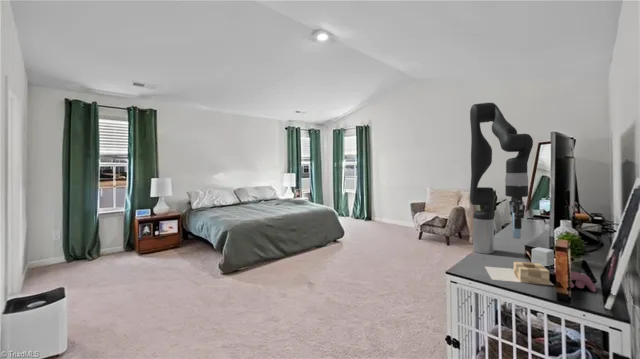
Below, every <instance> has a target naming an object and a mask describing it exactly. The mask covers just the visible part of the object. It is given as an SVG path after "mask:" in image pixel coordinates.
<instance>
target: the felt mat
mask: <svg viewBox="0 0 640 359" xmlns="http://www.w3.org/2000/svg"><path fill="white" fill-rule="evenodd" d="M484 268H485V269H486V272H487V274H488V275H489V277H490V279H491V280H492V281H493V280H494V281H504V282H512V283H513V282H514V283H521V282H520V281H519V280H518V278H517V277H516V276H515V275H514V268H509V267H496V266H495V267H494V266H484ZM523 283H525V282H523ZM533 284H535V285H536V283H533ZM546 285H547V284H544V286H546ZM547 286H554V283H552V281H550V280H549V285H547Z"/></svg>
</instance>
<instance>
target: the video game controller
mask: <svg viewBox="0 0 640 359" xmlns="http://www.w3.org/2000/svg"><path fill="white" fill-rule="evenodd" d="M570 272H571V280H570V281H571V288H570V289H572V288H574V287H576V288H578V289H584V288H585V286H586V287H587V288H588V289H589V290H590V291H591V292H594V293H596V292H597V289H596V285H595V284H594V282H593V281H592V279H591V277H589V276H588V275H587V274H586V273H582V272H578V271H570ZM573 281H575V284H574V283H573Z"/></svg>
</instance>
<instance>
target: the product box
mask: <svg viewBox="0 0 640 359" xmlns="http://www.w3.org/2000/svg"><path fill="white" fill-rule="evenodd" d="M554 258H555V252H554V250H553V249H550V248H545V247H540V246H537V247H535V248H532V249H531V262H530V263H540V264H541V265H542V266H550V265H553V264H554V265H555V263H554V262H555V259H554Z"/></svg>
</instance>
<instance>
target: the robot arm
mask: <svg viewBox="0 0 640 359" xmlns="http://www.w3.org/2000/svg"><path fill="white" fill-rule="evenodd" d="M469 121H470V132H471V133H470V136H471V138H470V139H471V141H470V142H471V144H470V148H471V149H470V166H471V167H470V170H471V171H470V175H471V176H470V188H469V189H470V190H469V201H470V203H471V205H473V206H485V207H484V208H483V209H480V210H476V211H474V212H473V214H472V215H473V220H472V222H473V223H472V226H473V227H472V228H473V230H472V233H473V239H472V240H473V244H472V245H473V249H472V250H473V251H474V252H476V253H479V254H488V255H490V254H494V253H495V251H494V250H495V247H494V246H495V226H494V225H495V219H494V218H495V217H494V216H495V212H494V211H495V210H494V208H495V190H494V188H493V187H490V186H488V187H487V186H486V187H484V186H483V187H482V186H481V187H480V186H479V183H480V180H481V179H482V177H483V175H484V174H485V173H486V172H487V170H488V169H489V168H490V166H491V165H492V162H493V147H492V146H491V145H490V143H489V141H488V140H487V138H486V137H485V136H484V135H483V133H482V130H481V124H483V123H490V122H492V125H491V132H492V133H493V135H494V137H496V138H497V139H498V141H499V145H500V149H501V150H503V151H504V152H507V153H517V155H516V156H514V157H511V158H508V159H507V160H506V162H505V170H506V171H505V173H506V174H505V179H504V180H505V181H504V182H505V186H504V188H505V196H506V197H511V198H510V200H509V202H508V203H509V204H508V205H509V214H510V216H511V219H512V220H511V224H512V225H511V226H512V227H513V213H514V228H516V229H522V220H523V219H524V218H525V211H526V210H525V209H526V204H525V202H524V201H523V198H527V197H529V175H528V162H529V159H530V154H531V152H532V150H533V149H532V148H533V145H534V140H533V137H532V136H531V135H530V134H529V133H518V131H517V129H516V128H515V127H514V126H513V124H511V123H510V122H508V120H507V119H506V118H505V117H504V114H503V113H502V111H501V110H500V108H499V107H498V105H497V104H496V103H495V102H482V103H475V104H472V106H470V111H469ZM478 186H479V187H478ZM515 210H516V211H515ZM518 214H520V215H518Z"/></svg>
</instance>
